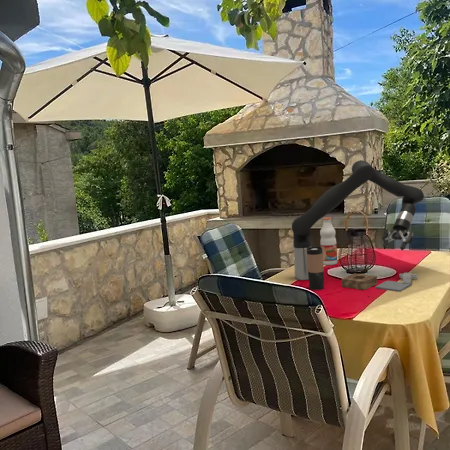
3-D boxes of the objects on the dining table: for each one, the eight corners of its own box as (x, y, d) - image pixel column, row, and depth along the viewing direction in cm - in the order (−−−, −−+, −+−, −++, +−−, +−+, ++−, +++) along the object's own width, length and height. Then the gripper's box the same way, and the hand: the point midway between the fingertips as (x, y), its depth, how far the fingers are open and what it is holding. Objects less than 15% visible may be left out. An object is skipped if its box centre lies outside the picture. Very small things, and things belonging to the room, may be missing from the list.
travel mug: (325, 285, 220) (322, 246, 217) (324, 290, 213) (321, 249, 210) (309, 285, 222) (307, 247, 219) (308, 290, 215) (305, 250, 212)
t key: (397, 275, 210) (399, 272, 220) (397, 283, 210) (399, 278, 221) (415, 276, 206) (417, 272, 217) (415, 283, 206) (417, 279, 217)
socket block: (342, 286, 215) (341, 278, 215) (354, 280, 223) (354, 273, 223) (364, 290, 207) (364, 281, 206) (377, 284, 215) (376, 276, 214)
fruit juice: (329, 261, 272) (326, 216, 269) (341, 263, 264) (338, 217, 261) (318, 263, 267) (315, 218, 264) (329, 266, 259) (326, 219, 256)
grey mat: (375, 288, 208) (375, 286, 208) (387, 282, 216) (387, 280, 216) (400, 291, 199) (400, 290, 199) (411, 285, 208) (411, 283, 207)
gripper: (387, 217, 224) (376, 242, 218) (415, 218, 214) (404, 245, 208) (392, 226, 229) (382, 251, 223) (419, 227, 218) (409, 254, 212)
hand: (393, 248), depth 215 cm, fingers open, 8 cm apart
